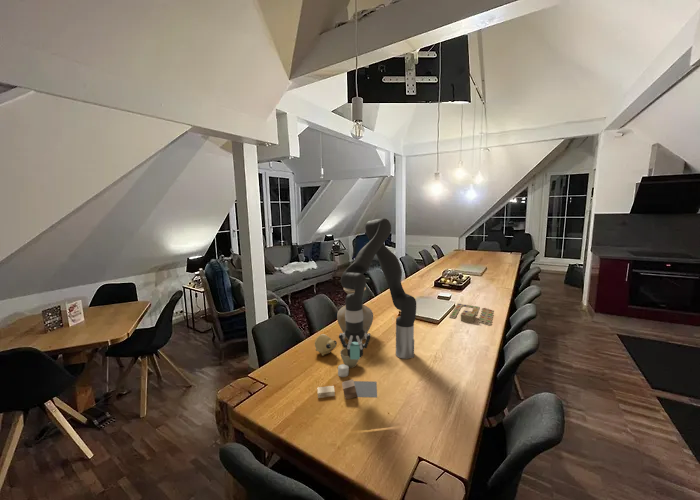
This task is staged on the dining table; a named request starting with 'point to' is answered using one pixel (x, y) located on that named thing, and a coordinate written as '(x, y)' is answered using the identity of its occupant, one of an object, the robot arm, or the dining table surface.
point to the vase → (366, 316)
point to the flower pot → (348, 358)
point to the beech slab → (325, 391)
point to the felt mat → (366, 388)
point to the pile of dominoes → (473, 314)
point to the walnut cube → (349, 389)
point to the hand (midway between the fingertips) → (355, 356)
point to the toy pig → (324, 344)
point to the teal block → (354, 350)
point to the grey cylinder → (343, 370)
